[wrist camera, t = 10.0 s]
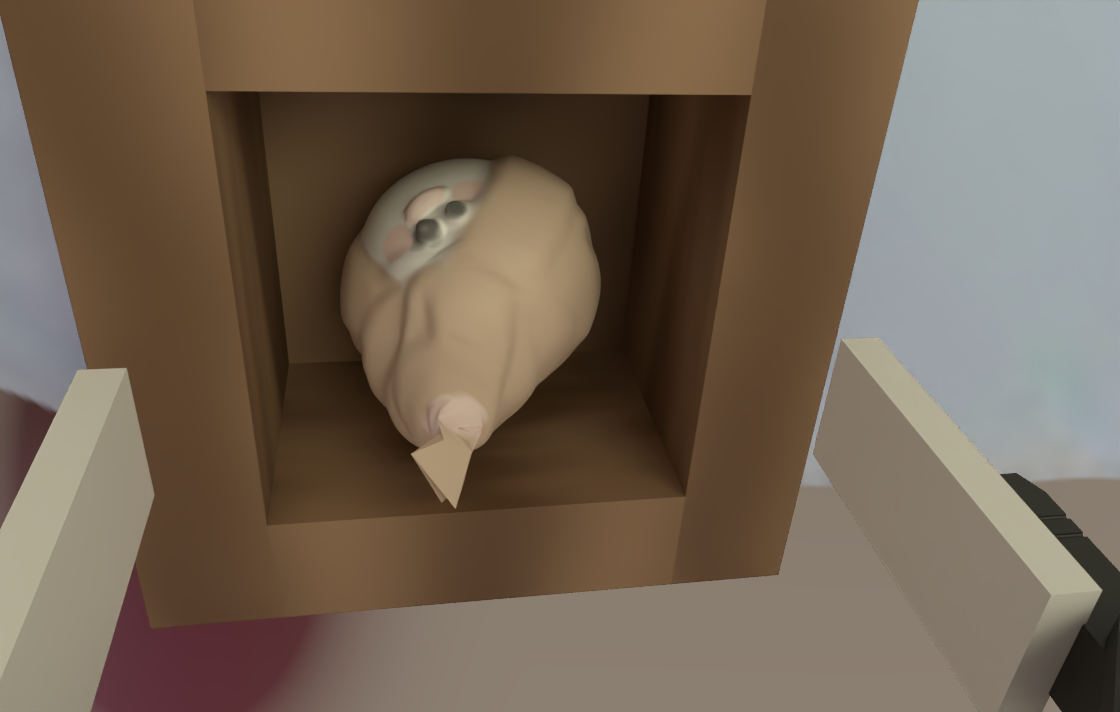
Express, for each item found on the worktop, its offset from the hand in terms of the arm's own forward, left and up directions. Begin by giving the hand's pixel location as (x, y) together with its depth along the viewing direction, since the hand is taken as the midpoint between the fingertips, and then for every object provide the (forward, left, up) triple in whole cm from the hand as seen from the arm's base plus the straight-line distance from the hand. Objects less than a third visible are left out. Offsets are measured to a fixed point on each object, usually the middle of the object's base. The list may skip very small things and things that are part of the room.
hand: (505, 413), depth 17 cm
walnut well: (0, 0, -11) cm, 11 cm away
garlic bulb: (+1, +1, -10) cm, 10 cm away
